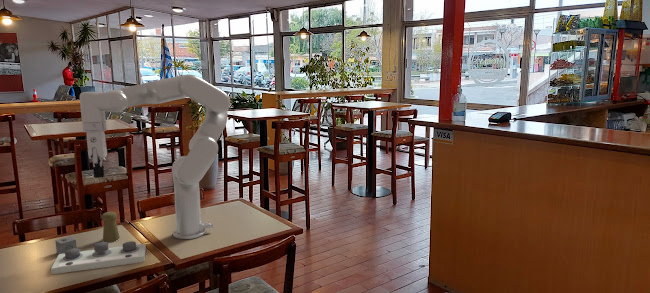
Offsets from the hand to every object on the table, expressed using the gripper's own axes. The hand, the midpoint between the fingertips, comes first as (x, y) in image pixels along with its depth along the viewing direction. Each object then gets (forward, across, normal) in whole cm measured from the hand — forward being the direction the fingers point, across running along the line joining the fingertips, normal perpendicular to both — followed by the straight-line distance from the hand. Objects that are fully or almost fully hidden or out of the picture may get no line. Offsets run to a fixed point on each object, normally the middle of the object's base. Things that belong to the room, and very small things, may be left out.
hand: (99, 176), depth 162 cm
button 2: (+25, -10, -9) cm, 28 cm away
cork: (+27, +8, -1) cm, 28 cm away
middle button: (+24, -10, 0) cm, 26 cm away
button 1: (+25, -10, +9) cm, 28 cm away
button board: (+27, -12, 0) cm, 30 cm away
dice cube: (+27, 0, +13) cm, 30 cm away
